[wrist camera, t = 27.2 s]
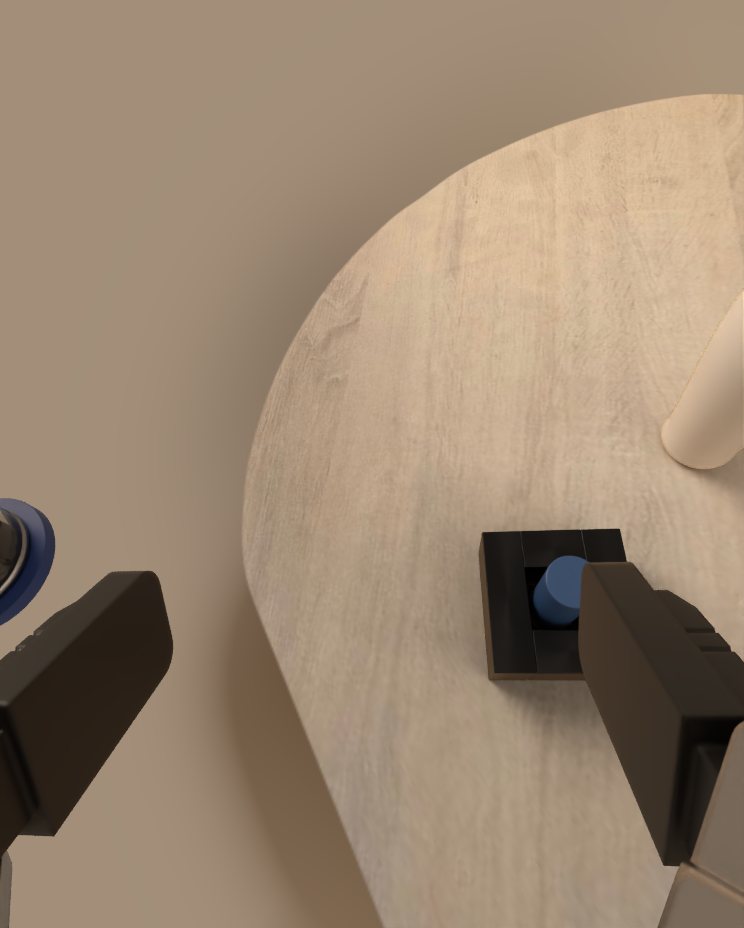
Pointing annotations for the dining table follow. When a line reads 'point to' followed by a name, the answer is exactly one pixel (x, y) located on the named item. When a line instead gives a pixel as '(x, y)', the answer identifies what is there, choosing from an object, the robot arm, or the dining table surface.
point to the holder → (507, 607)
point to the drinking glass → (712, 400)
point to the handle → (557, 595)
